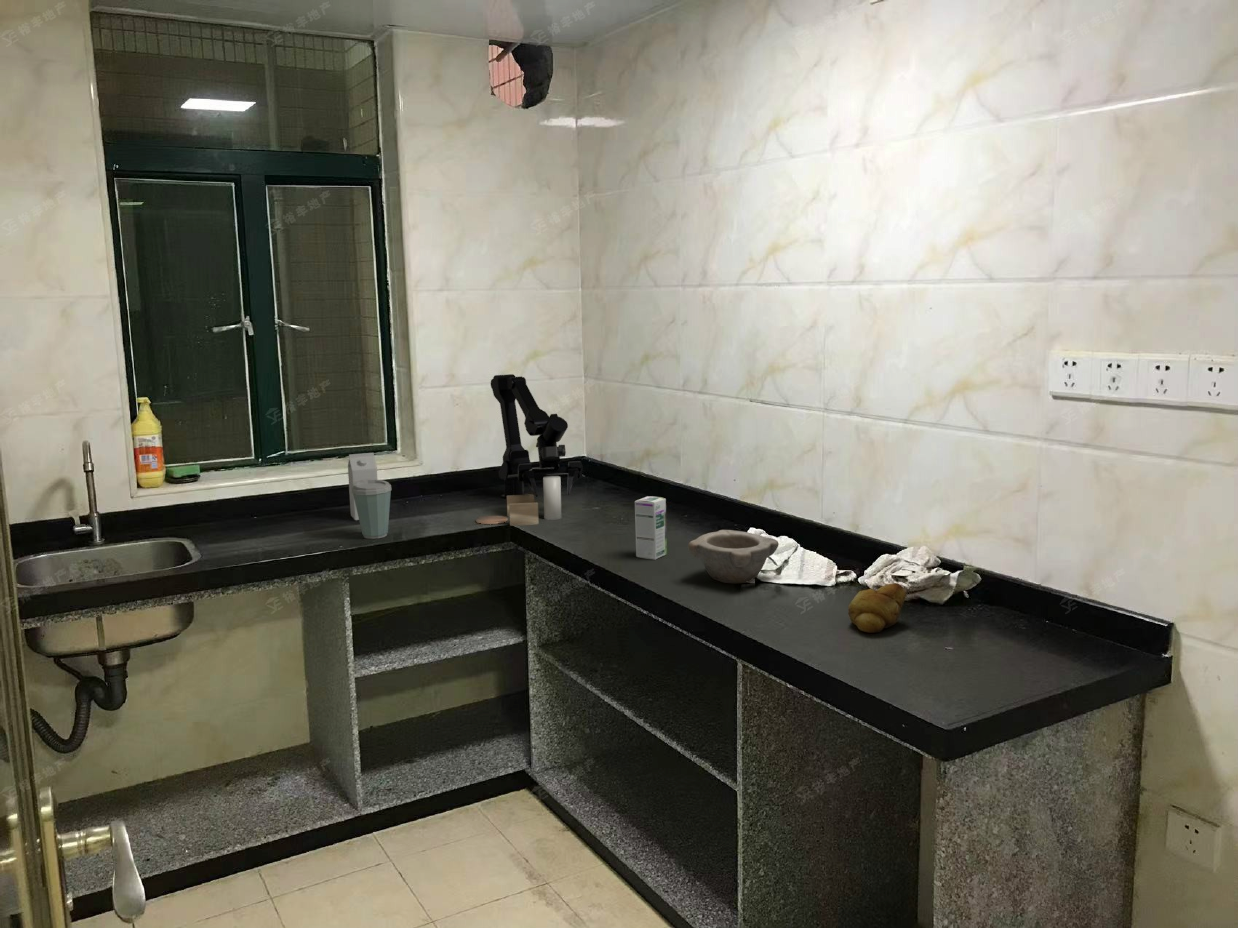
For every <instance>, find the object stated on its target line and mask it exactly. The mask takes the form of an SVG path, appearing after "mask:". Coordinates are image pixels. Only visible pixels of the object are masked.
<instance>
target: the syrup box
mask: <svg viewBox="0 0 1238 928" xmlns="http://www.w3.org/2000/svg"><path fill="white" fill-rule="evenodd" d="M666 502H667V499H666V498H664V497H661V496H653V495H652V496H648V495H647V496H645V497H642V498H640V499H637V500H635V501H634V521H635V525H634V526H635V556H636V557H637V558H640V559H645V560H646V559H647V560H655V561H656V560H657V559H659V558H661V557H664V556H666V555H667V554H668V545H667V544H668V543H667V541H668V540H667V538H668V536H667V503H666Z"/></svg>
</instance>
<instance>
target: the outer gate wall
mask: <svg viewBox="0 0 1238 928" xmlns="http://www.w3.org/2000/svg"><path fill="white" fill-rule="evenodd" d="M509 514H510V516H509V526H531V525H539V502H535V503H515V504H509Z"/></svg>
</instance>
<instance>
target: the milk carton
mask: <svg viewBox="0 0 1238 928" xmlns="http://www.w3.org/2000/svg"><path fill="white" fill-rule="evenodd" d="M348 458H349V459H348V463H347V474H348V477H347V478H348V491H349V506H350V516H351V517H352V519H353V520H354V521H359V517H358V513H357V509H356V504H355V500H354V496H353V493H352V487H353V485H354V482H357V481H360V480H366V479H377V480H379V479H378V466H377V462H376V459H375V452H365V453H353V454H348Z"/></svg>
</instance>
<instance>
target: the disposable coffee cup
mask: <svg viewBox="0 0 1238 928" xmlns="http://www.w3.org/2000/svg"><path fill="white" fill-rule="evenodd" d="M377 479H378V478H377ZM377 479H366V480H360V481H357V482H354V485H353V487H352V493H353V496H354V500H355V504H356V509H357V513H358V517H359V520H358V521H359V525H360V529H361V534H362V535H363V538H364V539H370V540H375V539H381V538H385V537H387V536H388V533H389V521H390V520H389V519H390V505H391V495H392V494H391V491H392V485H391V483H390V482H388V481H386V480H384V479H383V480H381V479H378V480H377Z"/></svg>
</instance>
